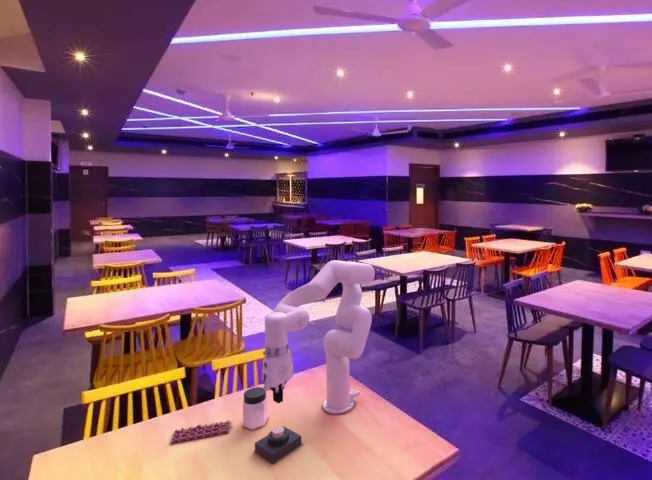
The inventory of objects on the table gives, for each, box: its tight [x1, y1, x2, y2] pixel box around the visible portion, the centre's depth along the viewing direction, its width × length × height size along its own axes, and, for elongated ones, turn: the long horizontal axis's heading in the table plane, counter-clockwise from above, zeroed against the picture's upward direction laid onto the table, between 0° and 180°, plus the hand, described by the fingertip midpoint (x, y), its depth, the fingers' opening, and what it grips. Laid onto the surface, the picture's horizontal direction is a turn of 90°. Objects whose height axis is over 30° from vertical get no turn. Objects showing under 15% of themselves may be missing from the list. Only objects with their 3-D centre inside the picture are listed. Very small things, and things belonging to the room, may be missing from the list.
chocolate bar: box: [171, 419, 231, 445], centre depth 147 cm, size 7×19×2 cm, turn 109°
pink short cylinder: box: [271, 425, 284, 439], centre depth 138 cm, size 4×4×2 cm
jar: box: [242, 386, 268, 430], centre depth 153 cm, size 9×8×12 cm
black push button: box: [254, 425, 302, 464], centre depth 138 cm, size 12×10×5 cm
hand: (278, 401), depth 138 cm, fingers closed
